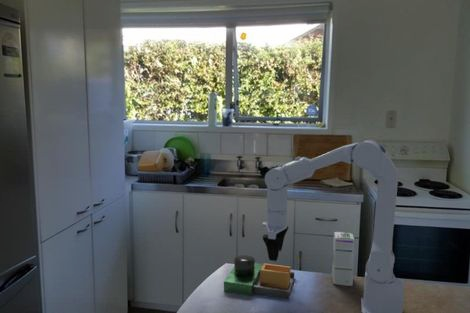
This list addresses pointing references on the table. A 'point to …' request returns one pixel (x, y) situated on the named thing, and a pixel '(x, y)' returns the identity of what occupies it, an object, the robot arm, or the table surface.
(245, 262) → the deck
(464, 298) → the table surface
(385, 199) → the robot arm
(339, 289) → the table surface
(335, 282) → the syrup box
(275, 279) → the tan arch block
